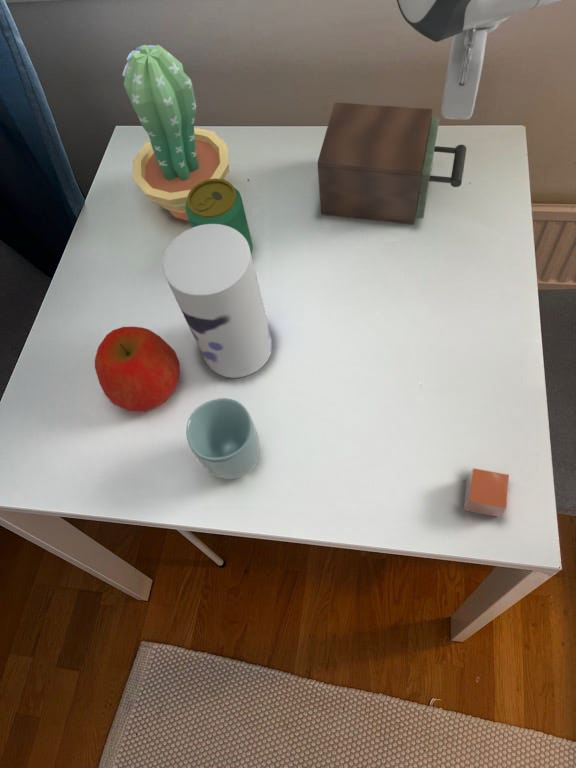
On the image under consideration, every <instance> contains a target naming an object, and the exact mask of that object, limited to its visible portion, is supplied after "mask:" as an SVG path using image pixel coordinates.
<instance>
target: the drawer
mask: <svg viewBox="0 0 576 768" xmlns="http://www.w3.org/2000/svg"><path fill="white" fill-rule="evenodd" d="M439 125H440V117H434V116H432V117H431V122H430V128H429V133H428V139H427V144H426V150H425V155H424V161H423V166H422V172H421V178H420V186H419V193H418V201H417V208H416V216H415V219H424V215H425V210H426V205H427V199H428V193H429V192H428V191H429V187H430V182H433V183H444V184H450V186H451V187H453V188H459V187H460V186H461V185H462V184H463V183H462V182H463V178H464V177H463V175H464V170H465V162H466V156H467V146H466V145H464V144H458V145H456V147H451V146H450V147H449V146H438V145H437V137H438V132H439ZM435 153H445V154H454V156H453V162H452V169H451V174H450V176H440V175H432V169H433V164H434V158H435Z"/></svg>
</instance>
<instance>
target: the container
mask: <svg viewBox="0 0 576 768" xmlns="http://www.w3.org/2000/svg"><path fill="white" fill-rule="evenodd" d="M162 273H163V275H164V278H165V280H166V283H167V284H168V286H169V288H170V290H171V292H172V295H173V296H174V299H175V300H176V303H177V305H178V307H179V309H180V311H181V313H182V315H183V317H184V319H185V322H186V324H187V326H188V328H189V330H190V332H191V334H192V336H193V338H194V340H195V342H196V345H197V346H198V349H199V351H200V352H201V355H202V357H203V358H204V362H205V363H206V365H207V366H208V368H209V369H210V370H212V371H213V372H214V373H216V374H218V375H219V376H222V377H226V378H232V379H233V378H235V379H236V378H243V377H247V376H249V375H252V374H254V373H256V372H257V371H259V370H260V369H261V368H263V367H264V366H265V364H266V363H267V362H268V360H269V359H270V357H271V355H272V351H273V345H274V344H273V338H272V332H271V329H270V324H269V321H268V317H267V313H266V308H265V305H264V302H263V297H262V292H261V288H260V284H259V281H258V276H257V272H256V269H255V263H254V260H253V256H252V253H251V252H250V248H249V245H248V242H247V240H246V239H245V238H244V236H243V235H242V234H241V233H240V232H238V231H237V230H235V229H233V228H231V227H229V226H225V225H221V224H205V225H199V226H196V227H193V228H192V227H191V228H189V229H186V230H184V231H183V232H182V233H180V234H179V235H177V236H176V237H175V238H174V239H173V240H172V241H171V242H170V243H169V244H168V246H167V248H166V249H165V252H164V253H163V257H162Z"/></svg>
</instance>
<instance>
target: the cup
mask: <svg viewBox="0 0 576 768" xmlns="http://www.w3.org/2000/svg"><path fill="white" fill-rule="evenodd" d="M185 435H186V440H187V444H188V447H189V448H190V450H191V452H192V454H193V455H194V456H195V459H197V461H198V462H199V463H200V464H201V465H202V466H203V468H204V469H205V470H206V471H207V472H209V473H210V474H211V475H212V476H214V477H216V478H219V479H222V480H223V479H224V480H234V479H239V478H241V477H245V476H246V475H248V474H249V473H251V471H253V470H254V468H255V467H256V466H257V464H258V461H259V458H260V451H261V449H260V448H261V446H260V440H259V439H260V438H259V435H258V432H257V429H256V426H255V424H254V421H253V418H252V416H251V415H250V412H249V411H248V409H247V408H246V407H245V405H243V404H242V403H241V402H239V401H238V400H235V399H232V398H226V397H224V398H223V397H221V398H215V399H210V400H208V401H206V402H203V403H202V404H200V405H199V406H197V407H196V408H195V409H194V410H193V411H192V413H191V414H190V415H189V417H188V419H187V422H186V429H185Z"/></svg>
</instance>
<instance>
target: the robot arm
mask: <svg viewBox="0 0 576 768" xmlns="http://www.w3.org/2000/svg"><path fill="white" fill-rule="evenodd" d="M562 1H563V0H396V3H397V7H398V10H399V13H400V14H401V16H402V17H403V20H404V21H405V22H406V23H407V24H408V25H409V26H410V27H411V28H413V29H414V30H415V31H416V32H418V33H419V34H420V35H422V36H423V37H425V38H427V39H429V40H431V41H432V42H435V43H439V42H441V41H444V40H446V39H449V38H451V37H452V39H451V45H450V49H449V56H448V61H447V68H446V74H445V81H444V87H443V94H442V98H441V104H440V105H441V106H440V116H441V118H443V119H446V120H447V119H448V120H457V121H458V120H459V121H467V120H471V118H472V116H473V113H474V111H475V105H476V100H477V96H478V90H479V86H480V82H481V76H482V72H483V65H484V59H485V54H486V45H487V39H488V34H490V33H492V32H493V31H495V30H496V29H497V28H498V27H499V26H500V25H501V23H503V22H505V21H506V20H508V19H509V18H510V17H511V18H512V17H514V16H518V15H520V14H525V13H526V12H530V11H533V10H536V9H540V8H544V7H546V6H550V5H552V4H553V5H554V4H557V3H559V2H562Z"/></svg>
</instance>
